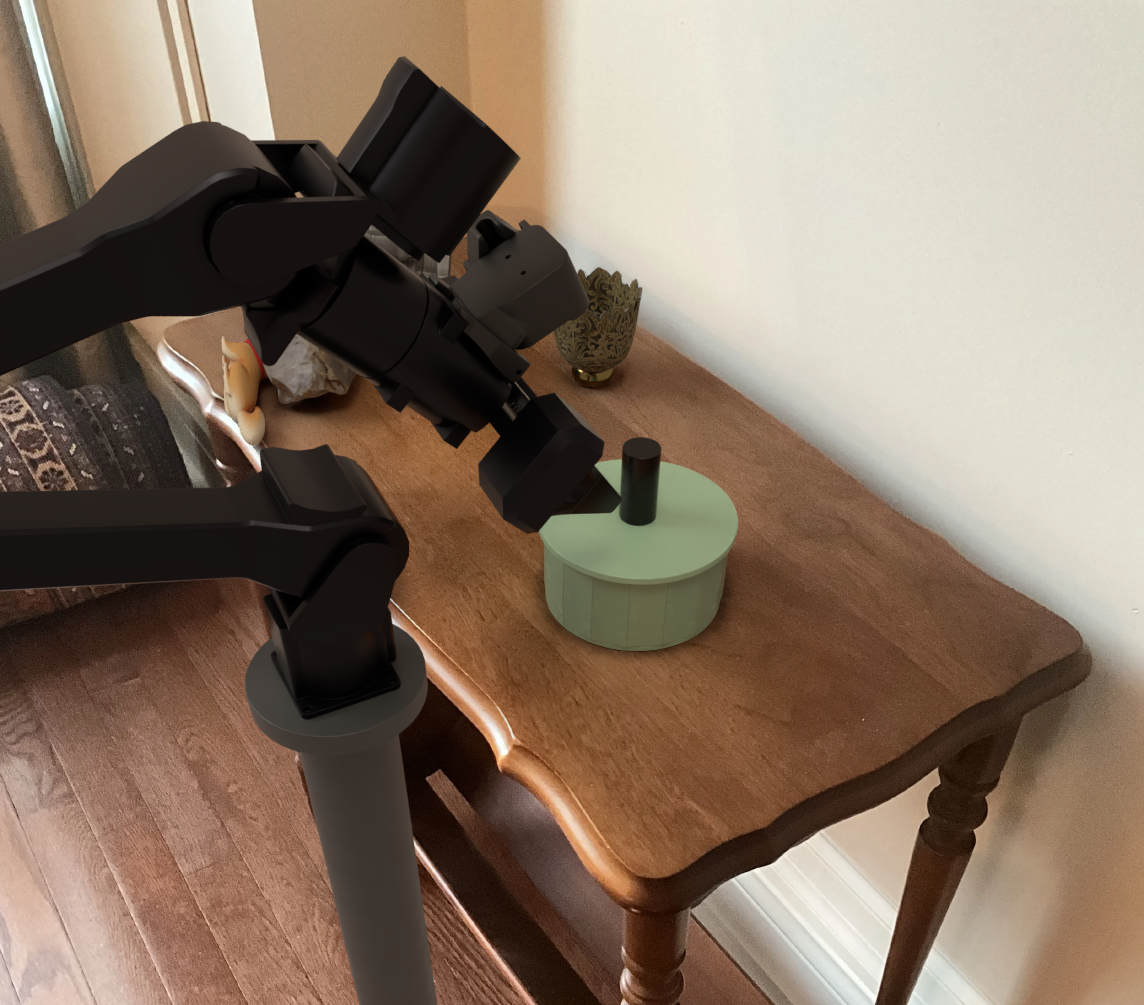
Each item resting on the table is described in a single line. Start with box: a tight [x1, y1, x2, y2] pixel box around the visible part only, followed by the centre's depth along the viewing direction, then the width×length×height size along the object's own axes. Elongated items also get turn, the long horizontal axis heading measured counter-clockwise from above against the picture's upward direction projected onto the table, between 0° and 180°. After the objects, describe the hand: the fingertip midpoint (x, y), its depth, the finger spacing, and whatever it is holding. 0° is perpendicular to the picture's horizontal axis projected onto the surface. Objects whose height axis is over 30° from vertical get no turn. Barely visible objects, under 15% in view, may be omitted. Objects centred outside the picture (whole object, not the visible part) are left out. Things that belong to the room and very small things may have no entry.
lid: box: [538, 436, 739, 585], centre depth 74 cm, size 13×13×6 cm
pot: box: [543, 543, 729, 652], centre depth 78 cm, size 12×12×6 cm
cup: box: [553, 266, 643, 388], centre depth 96 cm, size 8×7×8 cm
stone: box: [264, 334, 357, 405], centre depth 94 cm, size 11×7×10 cm
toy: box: [220, 335, 269, 446], centre depth 95 cm, size 3×17×5 cm
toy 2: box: [365, 225, 452, 278], centre depth 104 cm, size 8×6×15 cm
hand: (582, 463), depth 70 cm, fingers open, 9 cm apart
